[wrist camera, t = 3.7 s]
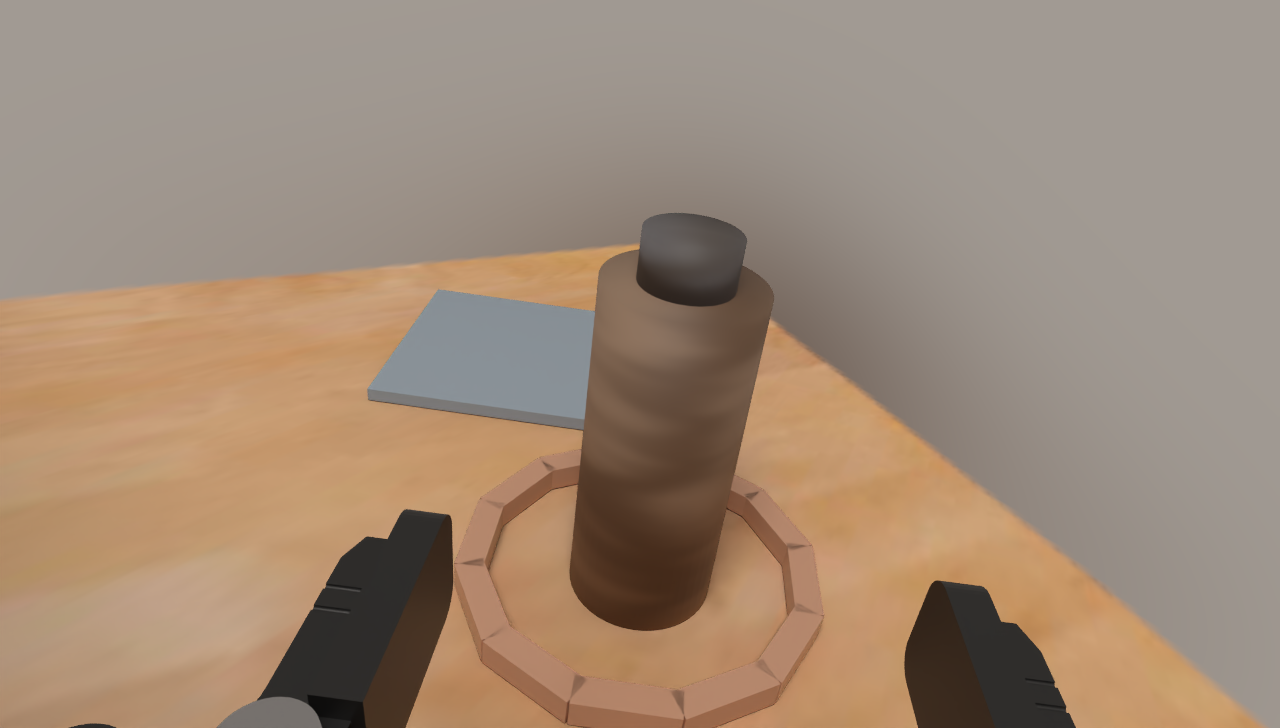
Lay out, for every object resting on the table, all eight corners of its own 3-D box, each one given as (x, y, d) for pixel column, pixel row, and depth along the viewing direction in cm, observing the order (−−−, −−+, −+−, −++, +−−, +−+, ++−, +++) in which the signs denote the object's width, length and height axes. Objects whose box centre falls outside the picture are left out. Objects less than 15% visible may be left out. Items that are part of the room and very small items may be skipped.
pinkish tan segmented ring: (409, 702, 23) (408, 680, 23) (506, 445, 35) (506, 427, 34) (836, 762, 23) (845, 743, 23) (794, 486, 35) (800, 469, 34)
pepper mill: (558, 619, 27) (592, 254, 20) (580, 517, 31) (613, 191, 24) (708, 640, 27) (793, 282, 20) (708, 535, 31) (778, 213, 24)
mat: (368, 399, 36) (367, 389, 36) (438, 298, 46) (438, 289, 46) (600, 432, 36) (601, 422, 36) (622, 324, 46) (623, 315, 45)
